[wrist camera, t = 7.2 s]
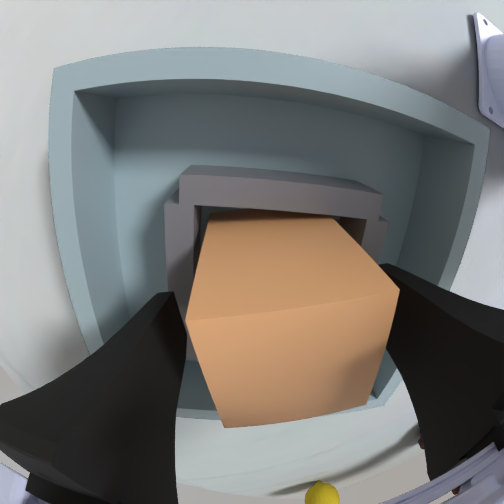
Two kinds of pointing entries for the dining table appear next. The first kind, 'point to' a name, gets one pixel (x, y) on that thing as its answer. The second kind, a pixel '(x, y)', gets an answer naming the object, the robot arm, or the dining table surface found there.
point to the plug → (287, 316)
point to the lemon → (322, 494)
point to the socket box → (246, 175)
